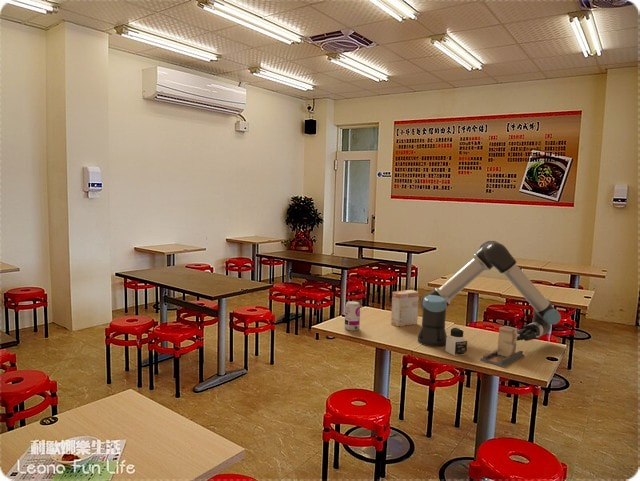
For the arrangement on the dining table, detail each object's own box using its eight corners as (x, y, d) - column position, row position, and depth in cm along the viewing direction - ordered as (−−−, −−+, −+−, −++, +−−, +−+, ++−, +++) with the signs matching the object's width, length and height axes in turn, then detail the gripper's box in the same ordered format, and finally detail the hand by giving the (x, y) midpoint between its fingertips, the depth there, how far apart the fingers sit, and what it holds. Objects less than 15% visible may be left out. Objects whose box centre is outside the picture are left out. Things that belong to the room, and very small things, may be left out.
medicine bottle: (454, 356, 221) (456, 331, 220) (445, 351, 228) (446, 327, 227) (466, 354, 224) (468, 330, 223) (456, 350, 231) (458, 326, 230)
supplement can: (361, 328, 263) (362, 302, 261) (354, 331, 256) (355, 305, 255) (349, 326, 267) (350, 300, 266) (341, 329, 260) (343, 302, 259)
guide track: (502, 350, 232) (502, 346, 232) (524, 357, 224) (525, 351, 224) (480, 360, 217) (480, 355, 217) (503, 367, 209) (503, 361, 209)
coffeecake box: (409, 321, 283) (411, 289, 281) (417, 324, 276) (419, 291, 275) (390, 323, 275) (391, 291, 273) (398, 327, 269) (399, 293, 267)
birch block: (503, 351, 227) (505, 325, 225) (515, 355, 222) (517, 328, 221) (497, 354, 223) (499, 327, 221) (509, 357, 218) (511, 330, 217)
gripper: (545, 341, 235) (525, 350, 219) (519, 335, 245) (498, 343, 229) (546, 326, 234) (526, 334, 218) (520, 321, 244) (499, 328, 228)
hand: (512, 339), depth 223 cm, fingers closed
